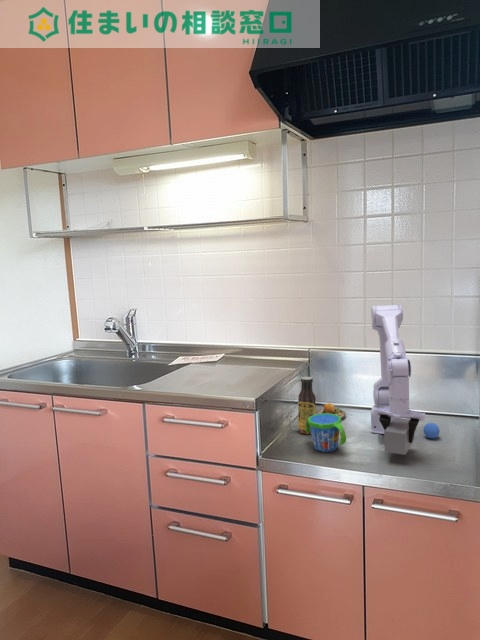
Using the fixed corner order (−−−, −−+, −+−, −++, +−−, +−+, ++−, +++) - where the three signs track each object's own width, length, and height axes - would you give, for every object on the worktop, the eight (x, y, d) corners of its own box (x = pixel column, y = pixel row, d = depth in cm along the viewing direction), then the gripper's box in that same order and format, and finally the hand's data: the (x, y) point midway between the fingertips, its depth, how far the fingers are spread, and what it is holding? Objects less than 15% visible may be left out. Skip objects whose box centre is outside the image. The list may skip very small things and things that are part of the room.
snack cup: (297, 445, 165) (296, 416, 163) (321, 437, 170) (320, 408, 169) (329, 460, 152) (328, 429, 150) (354, 451, 157) (353, 420, 155)
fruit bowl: (350, 415, 191) (349, 396, 190) (340, 425, 181) (339, 405, 180) (320, 411, 197) (320, 393, 196) (309, 421, 187) (308, 402, 186)
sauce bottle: (296, 434, 174) (293, 379, 171) (301, 428, 180) (298, 375, 177) (314, 435, 172) (312, 380, 169) (318, 429, 177) (316, 375, 175)
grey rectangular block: (384, 451, 147) (384, 431, 146) (394, 436, 158) (394, 417, 157) (405, 454, 144) (405, 434, 143) (414, 439, 155) (414, 419, 154)
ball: (422, 439, 163) (421, 425, 162) (425, 434, 167) (424, 420, 166) (438, 441, 160) (438, 427, 160) (440, 436, 165) (440, 421, 164)
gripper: (371, 398, 149) (372, 441, 151) (421, 404, 142) (422, 448, 144) (377, 392, 155) (378, 433, 157) (426, 396, 148) (426, 439, 150)
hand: (399, 440), depth 151 cm, fingers closed on grey rectangular block, 6 cm apart
